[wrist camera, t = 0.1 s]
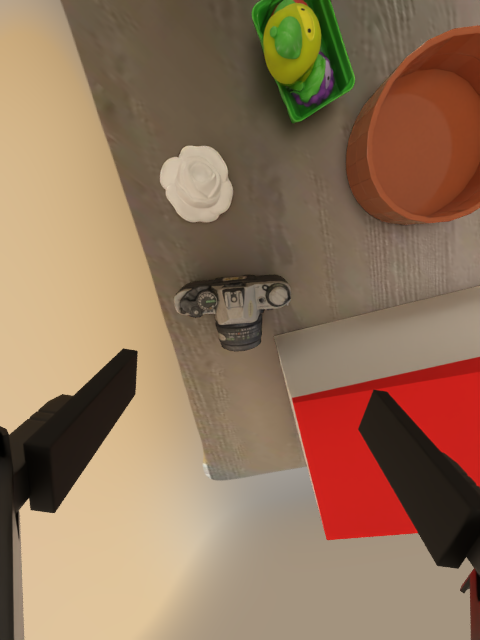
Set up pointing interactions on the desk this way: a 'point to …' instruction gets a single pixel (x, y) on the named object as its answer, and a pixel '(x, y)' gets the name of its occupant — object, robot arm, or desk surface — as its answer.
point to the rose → (197, 184)
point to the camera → (235, 305)
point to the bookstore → (402, 385)
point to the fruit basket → (303, 53)
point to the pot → (422, 136)
